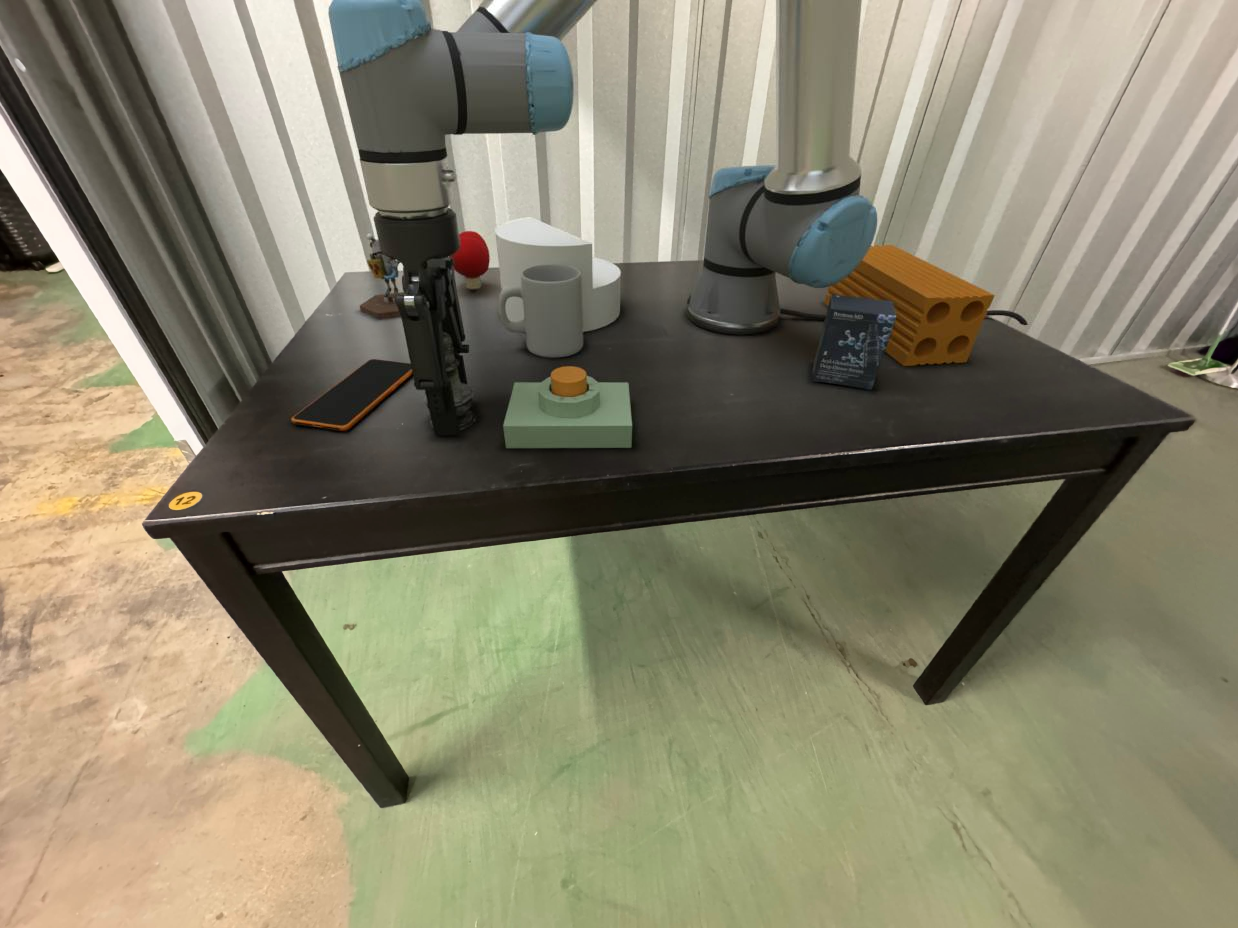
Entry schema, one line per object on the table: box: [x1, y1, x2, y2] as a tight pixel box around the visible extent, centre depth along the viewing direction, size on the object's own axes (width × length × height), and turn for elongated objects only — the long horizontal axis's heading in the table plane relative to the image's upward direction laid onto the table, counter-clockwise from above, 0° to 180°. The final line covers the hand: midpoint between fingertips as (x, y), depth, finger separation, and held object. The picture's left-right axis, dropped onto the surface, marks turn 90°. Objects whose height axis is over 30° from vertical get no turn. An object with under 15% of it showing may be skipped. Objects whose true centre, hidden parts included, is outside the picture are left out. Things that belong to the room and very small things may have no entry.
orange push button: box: [550, 365, 588, 397], centre depth 62 cm, size 4×4×2 cm
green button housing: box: [502, 375, 633, 449], centre depth 64 cm, size 14×10×5 cm
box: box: [812, 294, 896, 391], centre depth 73 cm, size 8×6×11 cm
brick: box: [824, 244, 996, 367], centre depth 87 cm, size 26×10×10 cm, turn 9°
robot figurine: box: [359, 233, 405, 320], centre depth 91 cm, size 11×9×12 cm
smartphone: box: [290, 358, 413, 431], centre depth 70 cm, size 8×17×1 cm, turn 167°
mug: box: [498, 264, 584, 359], centre depth 80 cm, size 12×8×11 cm
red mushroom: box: [449, 230, 491, 292], centre depth 100 cm, size 9×7×10 cm
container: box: [494, 216, 622, 333], centre depth 91 cm, size 20×20×13 cm
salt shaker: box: [421, 332, 477, 432], centre depth 62 cm, size 6×6×12 cm
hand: (453, 418), depth 66 cm, fingers closed on salt shaker, 6 cm apart
